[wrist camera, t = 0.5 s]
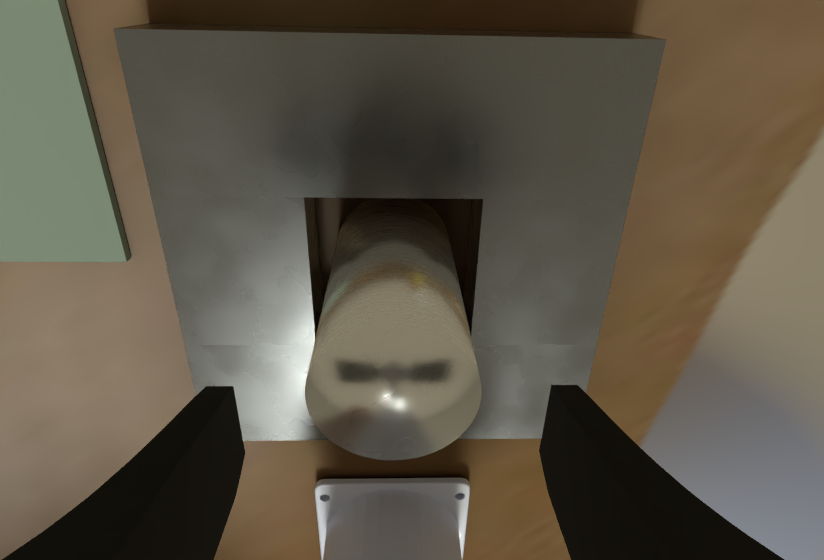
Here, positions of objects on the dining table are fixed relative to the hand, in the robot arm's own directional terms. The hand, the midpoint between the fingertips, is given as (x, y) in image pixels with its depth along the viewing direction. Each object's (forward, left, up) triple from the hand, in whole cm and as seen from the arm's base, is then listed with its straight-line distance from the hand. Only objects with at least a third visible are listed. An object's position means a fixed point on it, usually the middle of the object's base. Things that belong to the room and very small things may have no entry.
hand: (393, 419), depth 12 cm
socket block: (0, 0, -10) cm, 10 cm away
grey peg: (0, 0, -10) cm, 10 cm away
